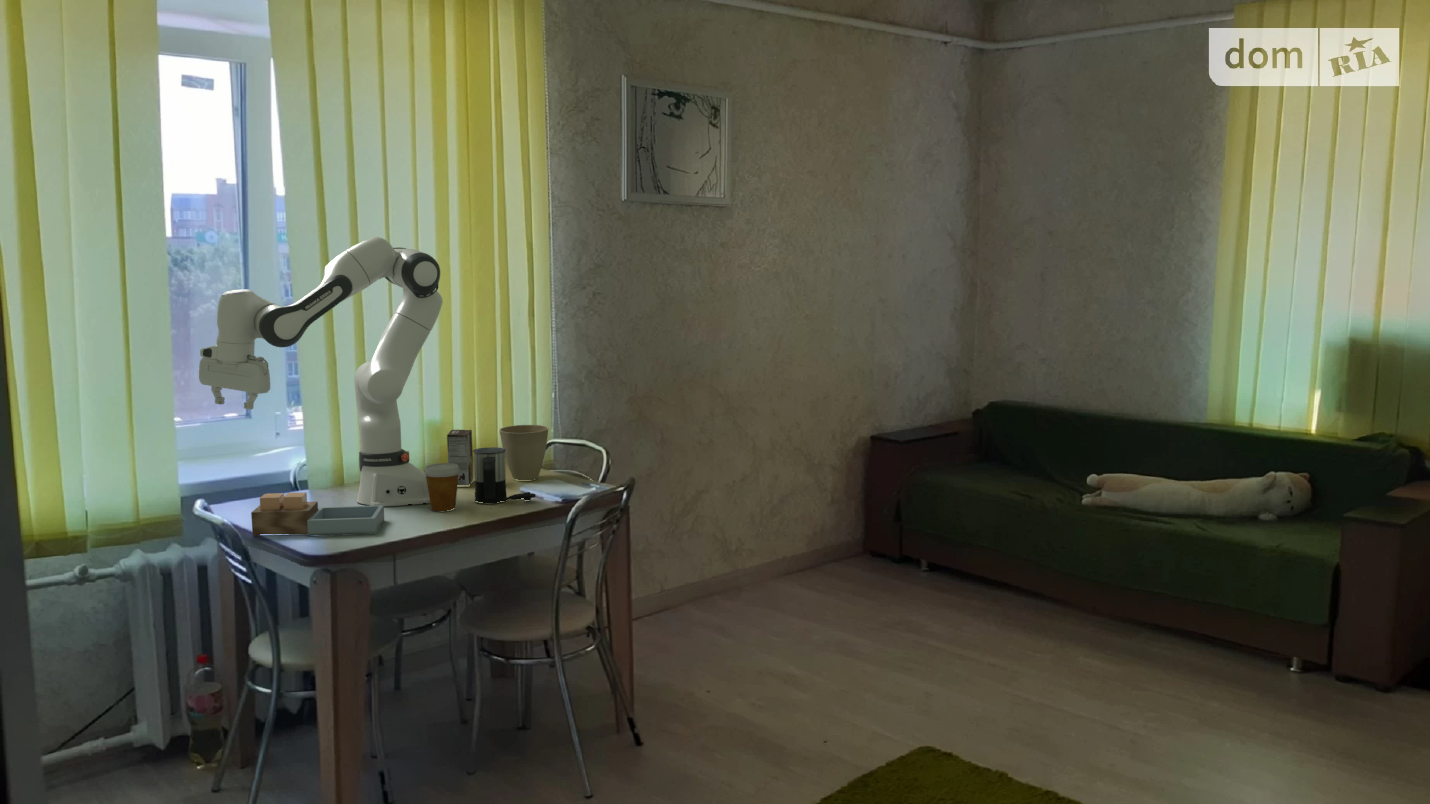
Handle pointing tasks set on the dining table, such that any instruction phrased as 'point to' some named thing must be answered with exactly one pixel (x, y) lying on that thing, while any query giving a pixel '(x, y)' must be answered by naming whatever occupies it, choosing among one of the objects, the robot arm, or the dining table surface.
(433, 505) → the disposable coffee cup
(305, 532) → the brown wooden box
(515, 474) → the plant pot
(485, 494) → the milk frother
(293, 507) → the tile
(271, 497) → the tile
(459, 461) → the coffee box
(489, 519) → the dining table surface
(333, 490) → the dining table surface
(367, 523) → the box
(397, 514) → the dining table surface
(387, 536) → the dining table surface
